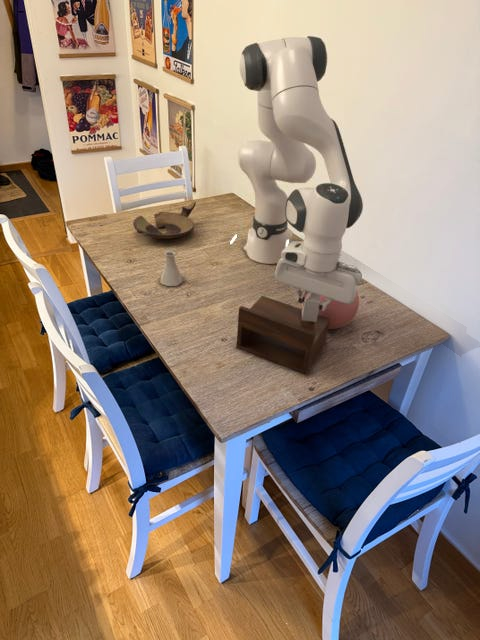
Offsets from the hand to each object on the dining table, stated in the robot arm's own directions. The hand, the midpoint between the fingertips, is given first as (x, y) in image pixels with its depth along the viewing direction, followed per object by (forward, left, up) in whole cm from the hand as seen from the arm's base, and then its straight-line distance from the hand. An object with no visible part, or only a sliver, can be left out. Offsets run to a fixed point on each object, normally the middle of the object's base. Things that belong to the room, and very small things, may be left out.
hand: (310, 305), depth 110 cm
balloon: (-15, 0, -14) cm, 21 cm away
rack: (+3, -5, -14) cm, 15 cm away
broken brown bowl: (-37, -70, -14) cm, 81 cm away
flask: (-8, -49, -14) cm, 52 cm away
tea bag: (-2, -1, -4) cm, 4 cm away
